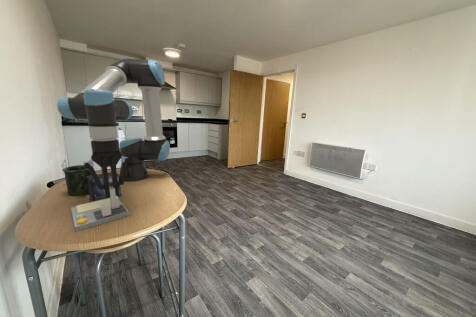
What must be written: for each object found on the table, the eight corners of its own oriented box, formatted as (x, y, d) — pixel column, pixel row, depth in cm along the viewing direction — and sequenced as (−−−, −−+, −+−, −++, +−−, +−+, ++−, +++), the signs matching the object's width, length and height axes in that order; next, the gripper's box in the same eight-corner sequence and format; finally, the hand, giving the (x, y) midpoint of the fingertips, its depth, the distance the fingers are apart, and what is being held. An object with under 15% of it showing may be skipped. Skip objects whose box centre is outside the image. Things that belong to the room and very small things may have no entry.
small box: (93, 203, 77) (90, 179, 74) (89, 199, 81) (86, 176, 79) (122, 196, 85) (119, 174, 82) (117, 192, 89) (114, 171, 86)
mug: (94, 186, 96) (91, 163, 93) (99, 194, 86) (96, 169, 83) (66, 191, 88) (61, 167, 86) (68, 201, 78) (63, 174, 76)
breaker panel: (117, 200, 80) (116, 194, 80) (129, 215, 68) (128, 209, 68) (71, 211, 70) (70, 205, 69) (75, 231, 58) (74, 224, 57)
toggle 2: (118, 205, 71) (117, 196, 71) (119, 207, 70) (118, 197, 69) (110, 207, 70) (109, 197, 69) (112, 209, 68) (110, 199, 67)
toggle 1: (109, 211, 66) (108, 202, 65) (111, 214, 65) (110, 204, 64) (101, 214, 65) (100, 204, 64) (103, 216, 63) (101, 206, 62)
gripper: (124, 137, 68) (130, 196, 73) (77, 139, 59) (89, 206, 64) (130, 139, 63) (136, 203, 68) (80, 142, 54) (92, 215, 59)
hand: (113, 204), depth 66 cm, fingers closed
